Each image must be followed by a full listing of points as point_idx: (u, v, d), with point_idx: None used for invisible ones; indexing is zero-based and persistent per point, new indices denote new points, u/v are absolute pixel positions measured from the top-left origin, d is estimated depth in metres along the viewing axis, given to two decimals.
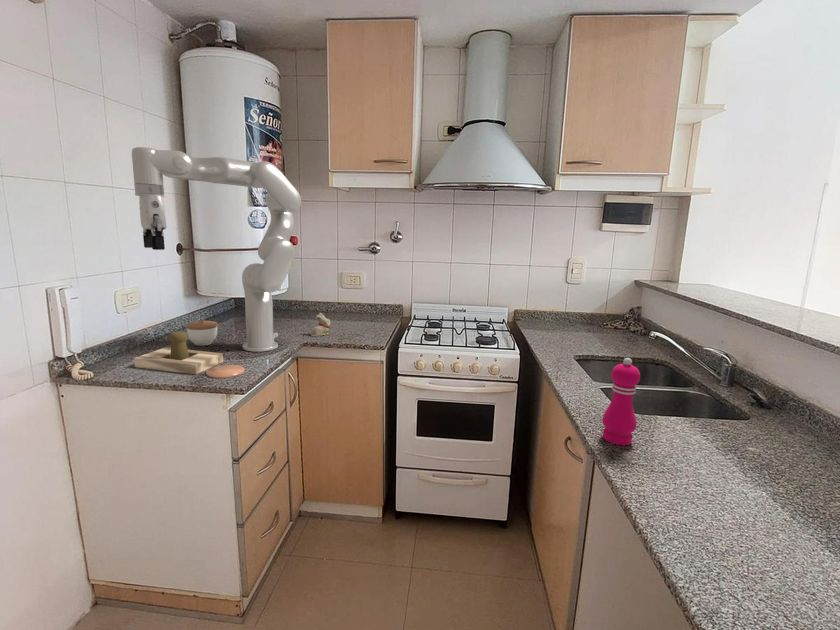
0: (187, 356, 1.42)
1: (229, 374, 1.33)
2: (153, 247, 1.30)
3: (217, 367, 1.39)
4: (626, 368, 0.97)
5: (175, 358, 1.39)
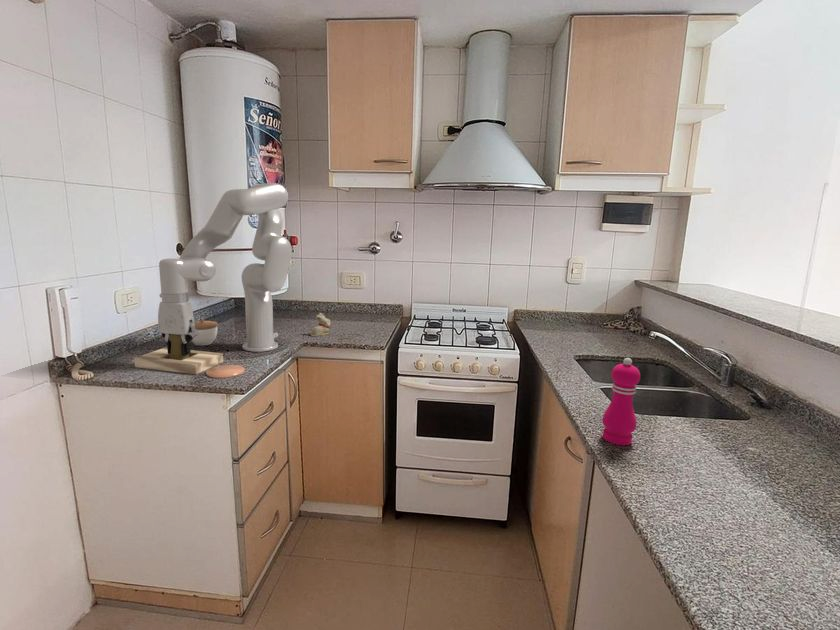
0: (187, 356, 1.42)
1: (229, 374, 1.33)
2: None
3: (217, 367, 1.39)
4: (626, 368, 0.97)
5: (175, 358, 1.39)
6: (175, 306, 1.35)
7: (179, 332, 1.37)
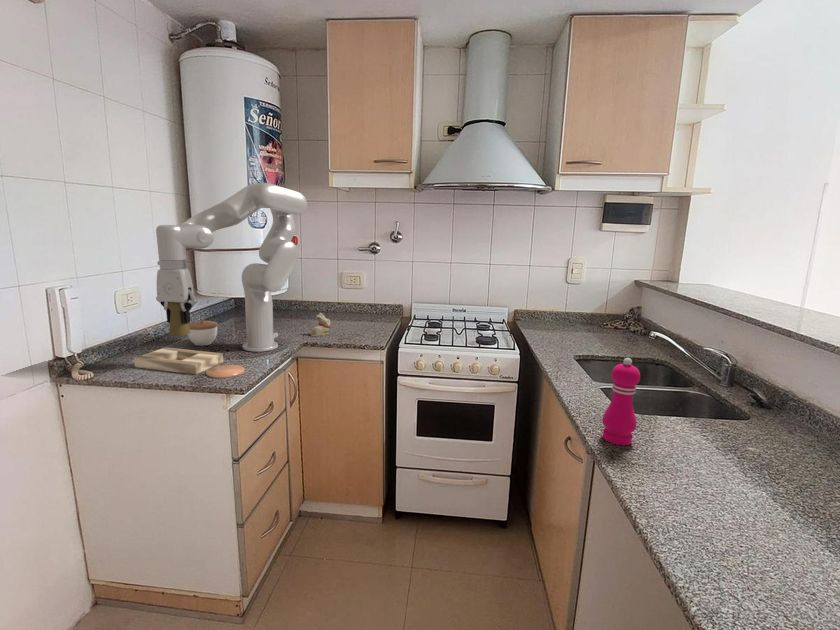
0: (187, 325, 1.40)
1: (229, 374, 1.33)
2: None
3: (217, 367, 1.39)
4: (626, 368, 0.97)
5: (174, 327, 1.38)
6: (174, 273, 1.34)
7: (178, 299, 1.35)
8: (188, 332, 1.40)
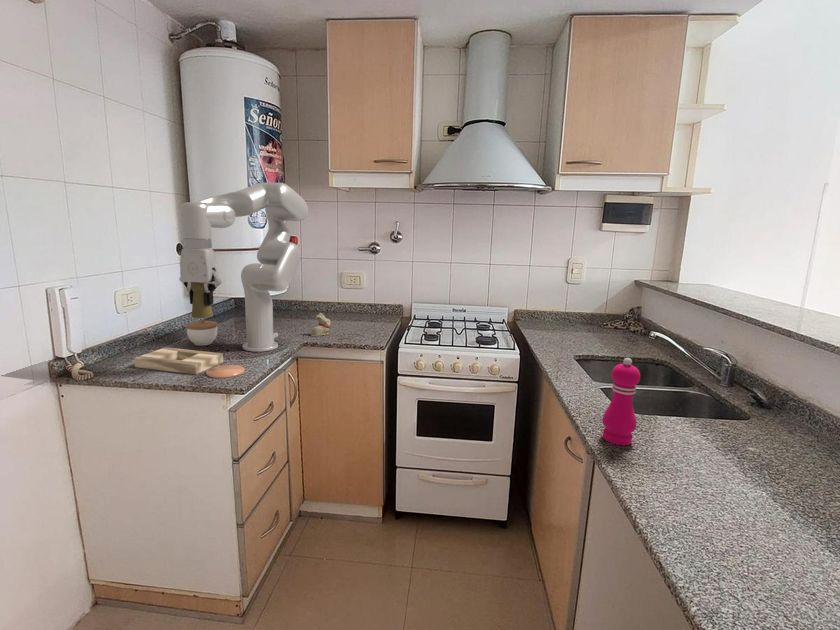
0: (209, 307, 1.35)
1: (229, 374, 1.33)
2: None
3: (217, 367, 1.39)
4: (626, 368, 0.97)
5: (197, 308, 1.33)
6: (198, 252, 1.29)
7: (201, 280, 1.30)
8: (211, 314, 1.35)
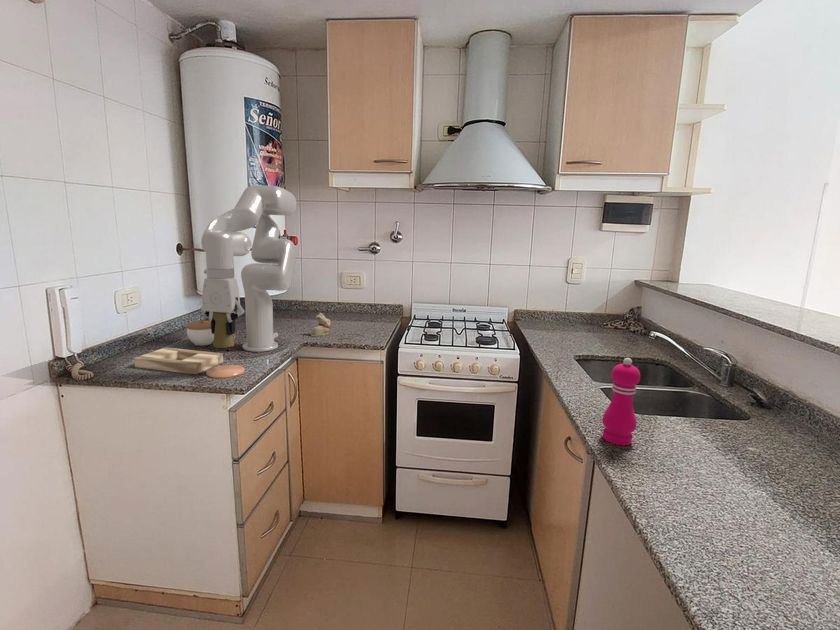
0: (231, 336, 1.34)
1: (229, 374, 1.33)
2: None
3: (217, 367, 1.39)
4: (626, 368, 0.97)
5: (219, 338, 1.32)
6: (221, 282, 1.28)
7: (225, 310, 1.30)
8: (232, 344, 1.35)
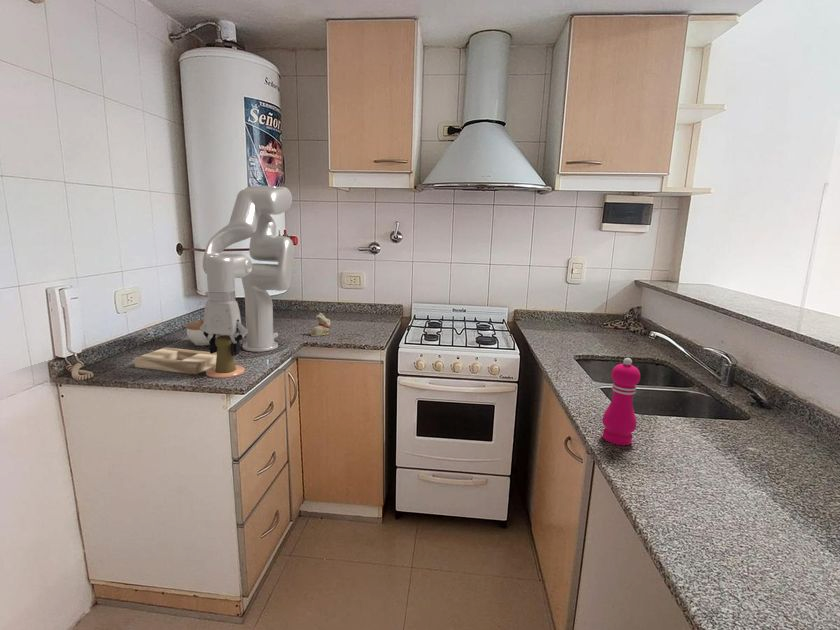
0: (233, 361, 1.36)
1: (229, 374, 1.33)
2: None
3: None
4: (626, 368, 0.97)
5: (221, 364, 1.34)
6: (223, 305, 1.30)
7: (226, 332, 1.31)
8: (234, 369, 1.37)
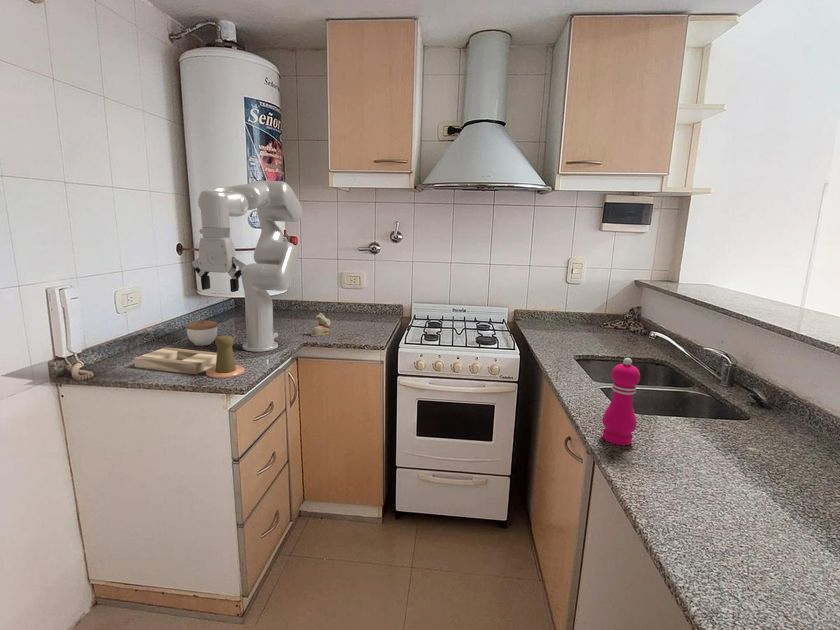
0: (233, 361, 1.36)
1: (229, 374, 1.33)
2: None
3: None
4: (626, 368, 0.97)
5: (221, 364, 1.34)
6: (218, 241, 1.28)
7: (222, 269, 1.29)
8: (234, 369, 1.37)
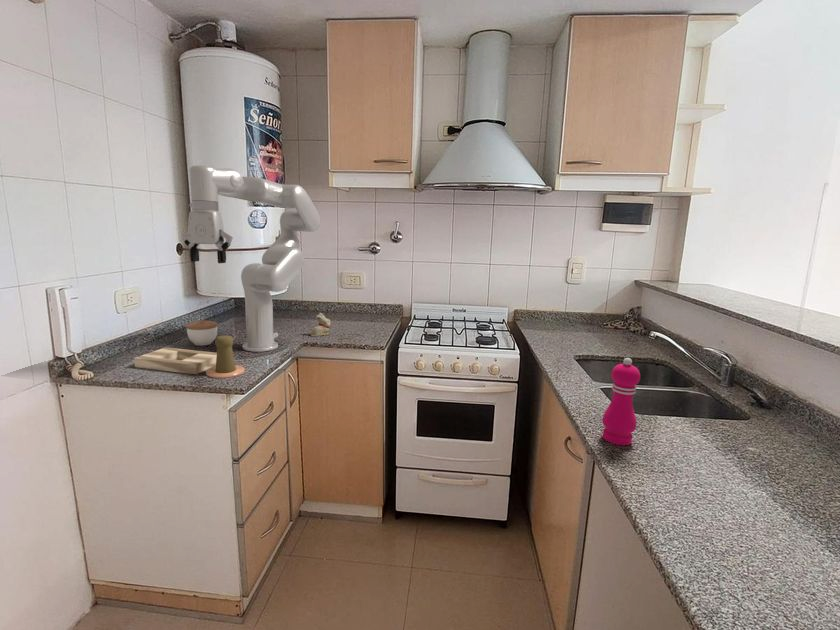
0: (233, 361, 1.36)
1: (229, 374, 1.33)
2: None
3: None
4: (626, 368, 0.97)
5: (221, 364, 1.34)
6: (206, 214, 1.34)
7: (209, 241, 1.35)
8: (234, 369, 1.37)
